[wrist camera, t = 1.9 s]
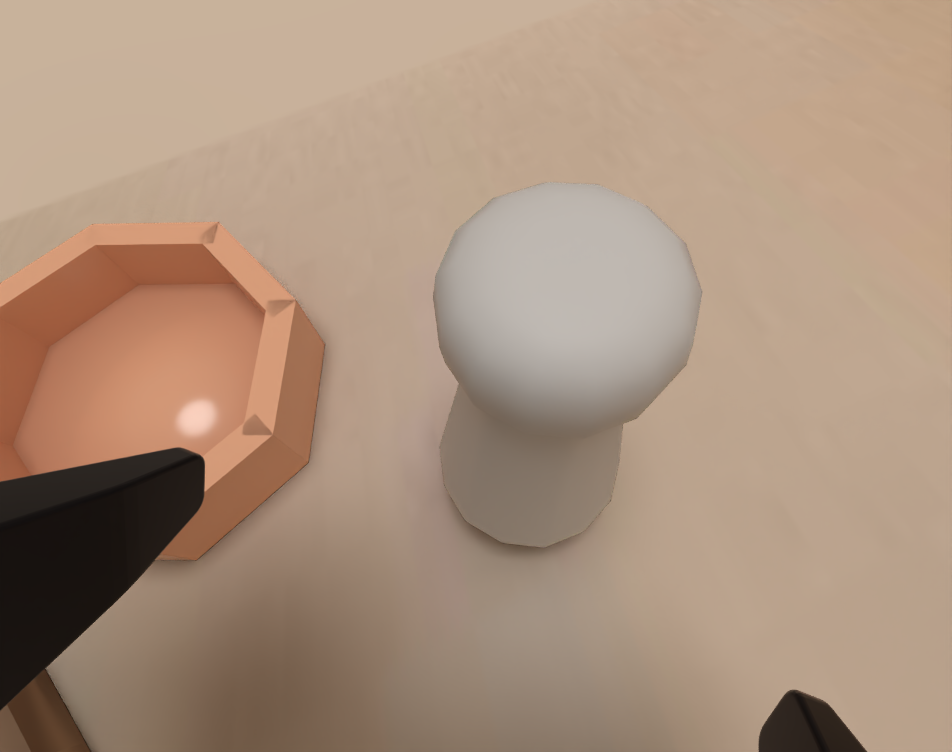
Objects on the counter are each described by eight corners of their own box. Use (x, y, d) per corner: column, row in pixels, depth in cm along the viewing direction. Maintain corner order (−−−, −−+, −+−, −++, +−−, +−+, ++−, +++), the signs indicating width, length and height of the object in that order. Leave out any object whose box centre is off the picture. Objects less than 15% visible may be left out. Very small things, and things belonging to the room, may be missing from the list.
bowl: (107, 638, 18) (23, 643, 15) (-37, 401, 22) (-129, 365, 18) (379, 400, 21) (358, 363, 18) (212, 229, 25) (170, 173, 22)
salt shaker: (477, 579, 18) (443, 523, 6) (426, 429, 20) (328, 180, 9) (632, 518, 19) (864, 363, 7) (566, 379, 21) (656, 83, 9)
